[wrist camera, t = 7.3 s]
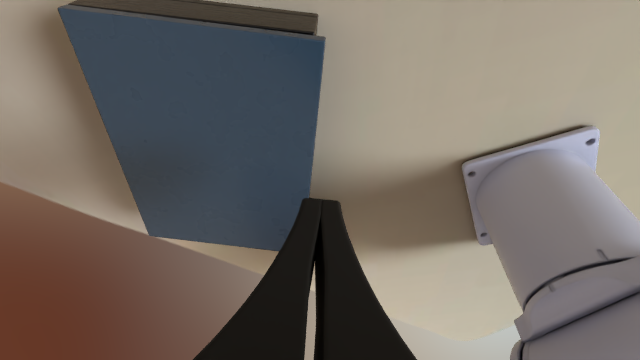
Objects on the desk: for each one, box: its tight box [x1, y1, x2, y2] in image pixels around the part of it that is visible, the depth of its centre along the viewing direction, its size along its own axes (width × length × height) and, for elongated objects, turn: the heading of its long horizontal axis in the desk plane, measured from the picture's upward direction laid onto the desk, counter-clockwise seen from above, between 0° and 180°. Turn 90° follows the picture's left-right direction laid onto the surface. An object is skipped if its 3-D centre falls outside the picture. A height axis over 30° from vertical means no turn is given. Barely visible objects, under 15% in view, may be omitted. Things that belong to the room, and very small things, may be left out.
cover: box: [58, 5, 326, 251], centre depth 19 cm, size 11×15×1 cm
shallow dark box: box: [68, 0, 318, 36], centre depth 20 cm, size 11×15×3 cm
